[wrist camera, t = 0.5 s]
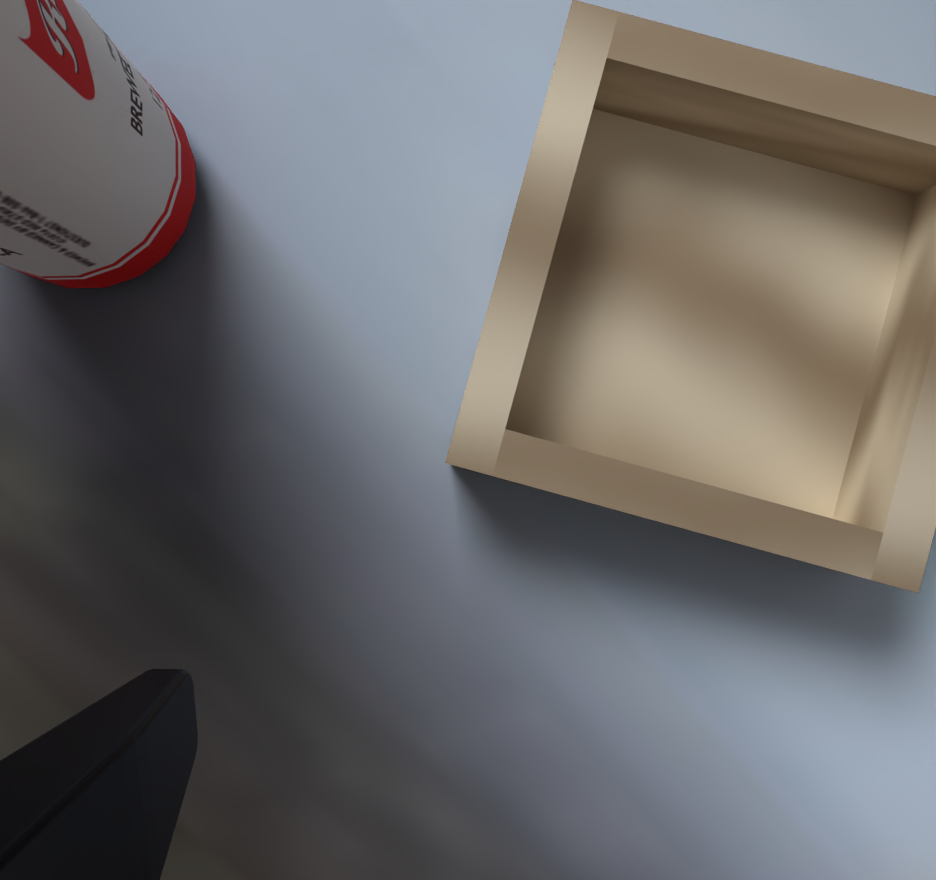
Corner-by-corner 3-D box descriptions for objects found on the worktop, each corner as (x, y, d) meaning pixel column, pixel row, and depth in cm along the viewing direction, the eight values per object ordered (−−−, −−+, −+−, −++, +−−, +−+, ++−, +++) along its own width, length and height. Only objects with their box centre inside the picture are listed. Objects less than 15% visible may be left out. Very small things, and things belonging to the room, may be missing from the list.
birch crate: (847, 571, 22) (919, 593, 19) (449, 462, 22) (445, 463, 19) (951, 176, 22) (1040, 124, 19) (557, 71, 22) (572, -1, 19)
